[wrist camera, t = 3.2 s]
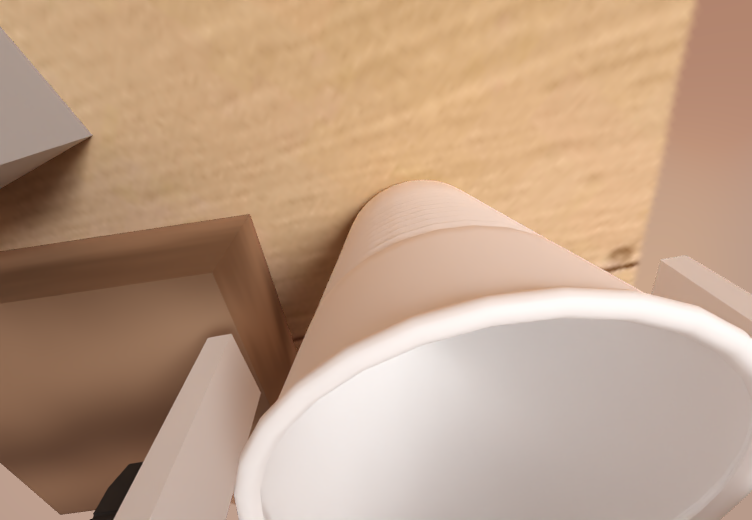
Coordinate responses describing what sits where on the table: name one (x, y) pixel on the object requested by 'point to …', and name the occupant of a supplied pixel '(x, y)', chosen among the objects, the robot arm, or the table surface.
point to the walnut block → (123, 345)
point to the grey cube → (30, 116)
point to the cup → (497, 384)
